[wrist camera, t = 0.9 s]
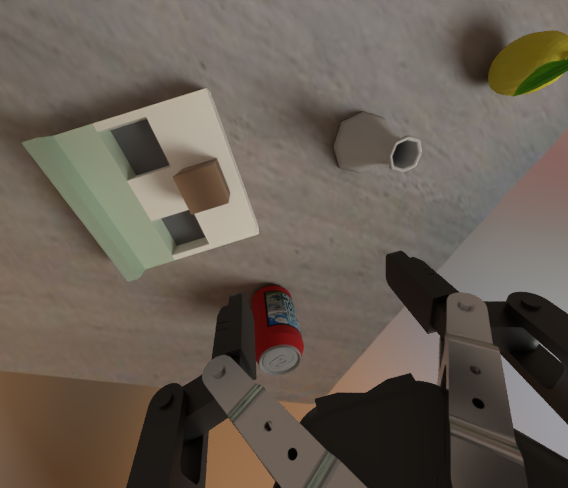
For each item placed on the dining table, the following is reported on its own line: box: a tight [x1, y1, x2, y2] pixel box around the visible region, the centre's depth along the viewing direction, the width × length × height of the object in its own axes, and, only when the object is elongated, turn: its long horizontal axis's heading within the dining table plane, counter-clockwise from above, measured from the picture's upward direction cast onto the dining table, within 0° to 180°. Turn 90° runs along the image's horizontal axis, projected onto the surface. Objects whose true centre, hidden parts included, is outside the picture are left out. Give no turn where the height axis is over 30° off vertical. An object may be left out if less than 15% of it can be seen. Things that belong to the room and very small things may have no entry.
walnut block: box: [173, 158, 230, 215], centre depth 25 cm, size 4×4×4 cm
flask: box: [334, 112, 422, 173], centre depth 26 cm, size 7×7×10 cm
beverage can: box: [251, 286, 304, 376], centre depth 35 cm, size 7×7×12 cm
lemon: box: [488, 31, 568, 96], centre depth 25 cm, size 7×6×10 cm
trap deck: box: [21, 88, 259, 282], centre depth 28 cm, size 17×16×5 cm
